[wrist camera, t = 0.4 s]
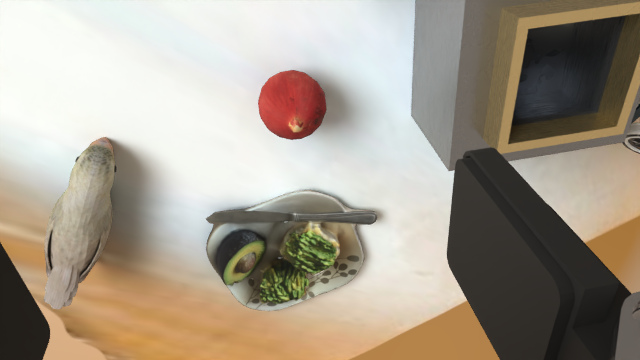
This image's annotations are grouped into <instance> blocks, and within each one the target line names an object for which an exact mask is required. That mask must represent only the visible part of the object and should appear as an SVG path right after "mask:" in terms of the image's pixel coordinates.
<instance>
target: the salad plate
mask: <svg viewBox="0 0 640 360" xmlns="http://www.w3.org/2000/svg"><path fill="white" fill-rule="evenodd" d="M206 220H207V221H208V222H209V223H213V224H214V225H213V229H212V231H211V233H210V235H209V238H208V240H207V247H206V251H207V255H208V258H209V261H210V263H211V264H212V266H213V268H214V269H215V270H216V272H217V273H218V275H219V276H220V277H221V279H222V280H223V282H224V284H225V285H226V286H227V287H228V288H229V290H230V291H231V293H232V294H233V295H234V297H235V298H236V299H237V300H238V301H239V302H240V303H241V304H243V305H244V306H246V307H248V308H251V309H255V310H263V311H275V310H280V309H284V308H287V307H290V306H292V305H295V304H297V303H299V302H302V301H305V300H307V299H309V298H312V297H315V296H317V295H319V294H323V293H327V292H328V291H331V290H333V289H336V288H338V287H341V286H343V285H345V284H347V283H348V282H350V281H351V280H352V279H353V278H354V277H355V275H356V274H357V273H358V271H359V269H360V267H361V265H362V263H363V261H364V252H363V249H362V247H361V242H360V239H359V237H358V234H357V232H356V224H368V225H370V224H373V223H374V222H375V221H376V220H377V214H376V212H374V211H371V210H354V209H350V208H348V207H346V206H344V205H343V204H342V203H341V202H340V201H339V200H337V199H336V198H334V197H332V196H329V195H326V194H323V193H319V192H315V191H313V190H304V191H297V192H293V193H288V194H284V195H282V196H279V197H276V198H274V199H271V200H269V201H266V202H263V203H261V204H258V205H256V206H253V207H250V208H246V209H240V210H228V211H220V212H215V213H213V214H212V215H211V216H209V217H208V218H206ZM284 221H288V222H287V223H284ZM278 257H283V258H281V259H278ZM323 270H324V271H323ZM321 271H323V272H322V273H320V274H319V275H317V276H315V277H313V278H311V279H307V278H306V276H307V273H310V274H311V275H315V274H316V273H319V272H321Z"/></svg>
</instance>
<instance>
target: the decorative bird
mask: <svg viewBox="0 0 640 360" xmlns="http://www.w3.org/2000/svg"><path fill="white" fill-rule="evenodd" d="M115 172H116V165H115V160H114V153H113V148H112V146H111V144H110V142H109V140H108V139H107V138H106V137H103V138H100V139H98V140H96V141H94V142H92V143H91V144H90V146H89V147H88V148H87V149H86V150H85V151H84V152H83V153H82V154H81V155H80V156H79V157H77V159H76V163H75V165H74V167H73V169H72V172H71V175H70V181H69V187H68V188H67V190H66V191H65V192H64V193H63V195H62V196H61V197H60V199H59V200H58V201H57V203H56V204H55V206H54V208H53V211H52V213H51V216H50V219H49V222H48V225H47V231H46V237H45V260H46V273H47V276H48V277H49V279H48V281H47V284H46V287H45V292H46V293H45V296H44V301H45V302H46V303H48V304H51V307H52V308H54V309H61V308H62V307H63V306H69V305H70V304H71V302H72V298H73V297H74V296H75V295H76V292H77V288H78V283H81V282H82V281H83V280H84V279H85V278H86V276H87V275H88V273H89V272H90V270H91V269H92V267H93V266H94V265H95V263H96V262H97V260H98V259H99V257H100V255H101V253H102V251H103V249H104V247H105V244H106V242H107V239H108V236H109V233H110V229H111V225H112V218H113V210H112V206H111V200H110V190H111V188H112V186H113V182H114V177H115ZM48 258H49V260H48ZM49 263H50V265H49ZM50 267H51V269H50ZM51 270H52V271H51Z"/></svg>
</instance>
